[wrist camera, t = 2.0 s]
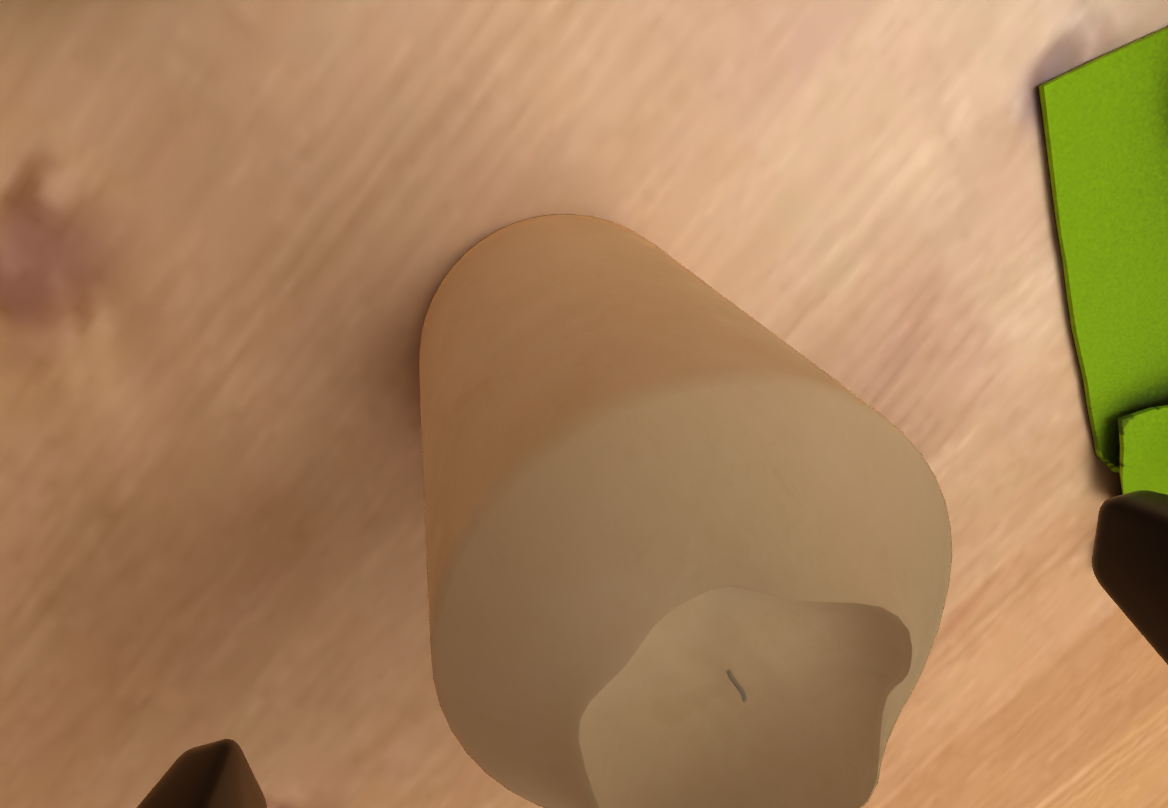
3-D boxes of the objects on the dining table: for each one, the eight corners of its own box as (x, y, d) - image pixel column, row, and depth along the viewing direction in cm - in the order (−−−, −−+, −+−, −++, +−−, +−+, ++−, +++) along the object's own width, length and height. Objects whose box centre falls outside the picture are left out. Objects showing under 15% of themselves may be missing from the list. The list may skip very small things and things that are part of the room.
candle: (573, 145, 14) (868, 295, 5) (742, 351, 16) (1143, 701, 7) (356, 348, 15) (279, 798, 6) (547, 518, 17) (704, 1025, 8)
